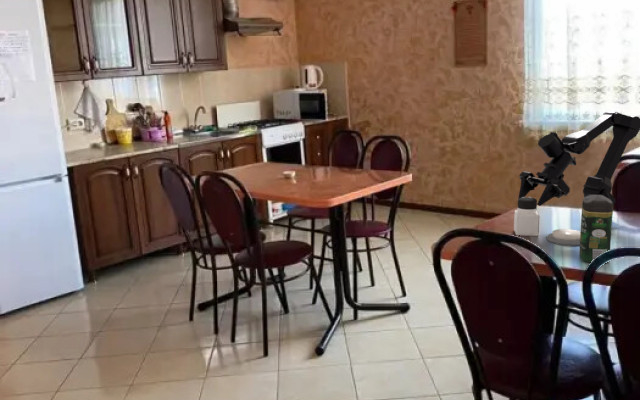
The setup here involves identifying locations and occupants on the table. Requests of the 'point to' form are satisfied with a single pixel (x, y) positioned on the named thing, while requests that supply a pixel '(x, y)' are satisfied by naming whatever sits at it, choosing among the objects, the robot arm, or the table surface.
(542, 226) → the table surface
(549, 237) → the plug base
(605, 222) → the coffee jar
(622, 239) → the table surface
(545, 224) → the table surface
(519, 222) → the medicine bottle
